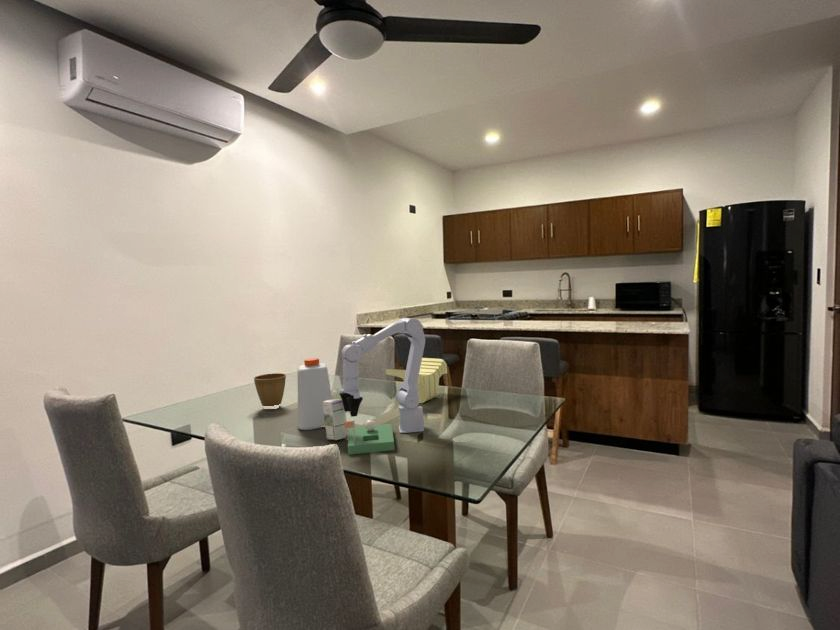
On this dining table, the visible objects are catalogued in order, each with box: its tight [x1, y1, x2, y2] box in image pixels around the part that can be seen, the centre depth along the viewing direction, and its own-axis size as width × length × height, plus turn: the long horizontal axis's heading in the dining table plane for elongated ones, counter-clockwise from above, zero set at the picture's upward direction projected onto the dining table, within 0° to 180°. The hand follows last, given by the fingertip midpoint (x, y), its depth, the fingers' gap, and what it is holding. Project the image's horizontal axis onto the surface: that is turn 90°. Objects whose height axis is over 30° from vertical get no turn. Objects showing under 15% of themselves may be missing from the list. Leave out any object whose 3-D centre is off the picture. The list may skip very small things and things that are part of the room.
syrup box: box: [323, 398, 348, 441], centre depth 169 cm, size 6×6×14 cm
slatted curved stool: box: [385, 357, 448, 404], centre depth 219 cm, size 30×16×18 cm, turn 147°
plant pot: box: [253, 372, 287, 407], centre depth 218 cm, size 15×15×16 cm
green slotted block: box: [344, 420, 396, 456], centre depth 163 cm, size 17×20×11 cm
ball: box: [364, 419, 377, 431], centre depth 168 cm, size 4×4×4 cm
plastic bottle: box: [297, 357, 333, 431], centre depth 188 cm, size 15×15×28 cm
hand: (350, 413), depth 165 cm, fingers open, 7 cm apart
